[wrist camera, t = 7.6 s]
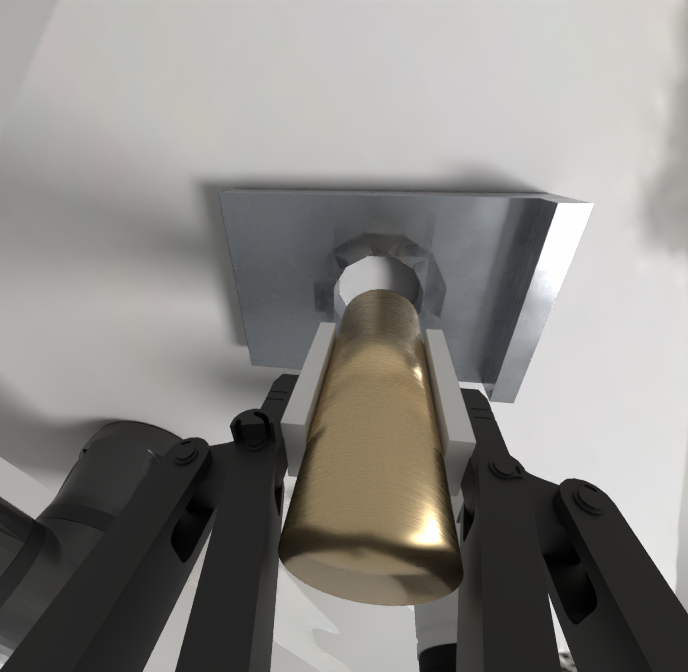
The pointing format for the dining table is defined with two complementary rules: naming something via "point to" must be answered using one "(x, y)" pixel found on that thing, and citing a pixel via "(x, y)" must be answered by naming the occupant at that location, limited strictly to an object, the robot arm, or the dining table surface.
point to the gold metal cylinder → (374, 469)
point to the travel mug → (439, 623)
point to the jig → (414, 251)
